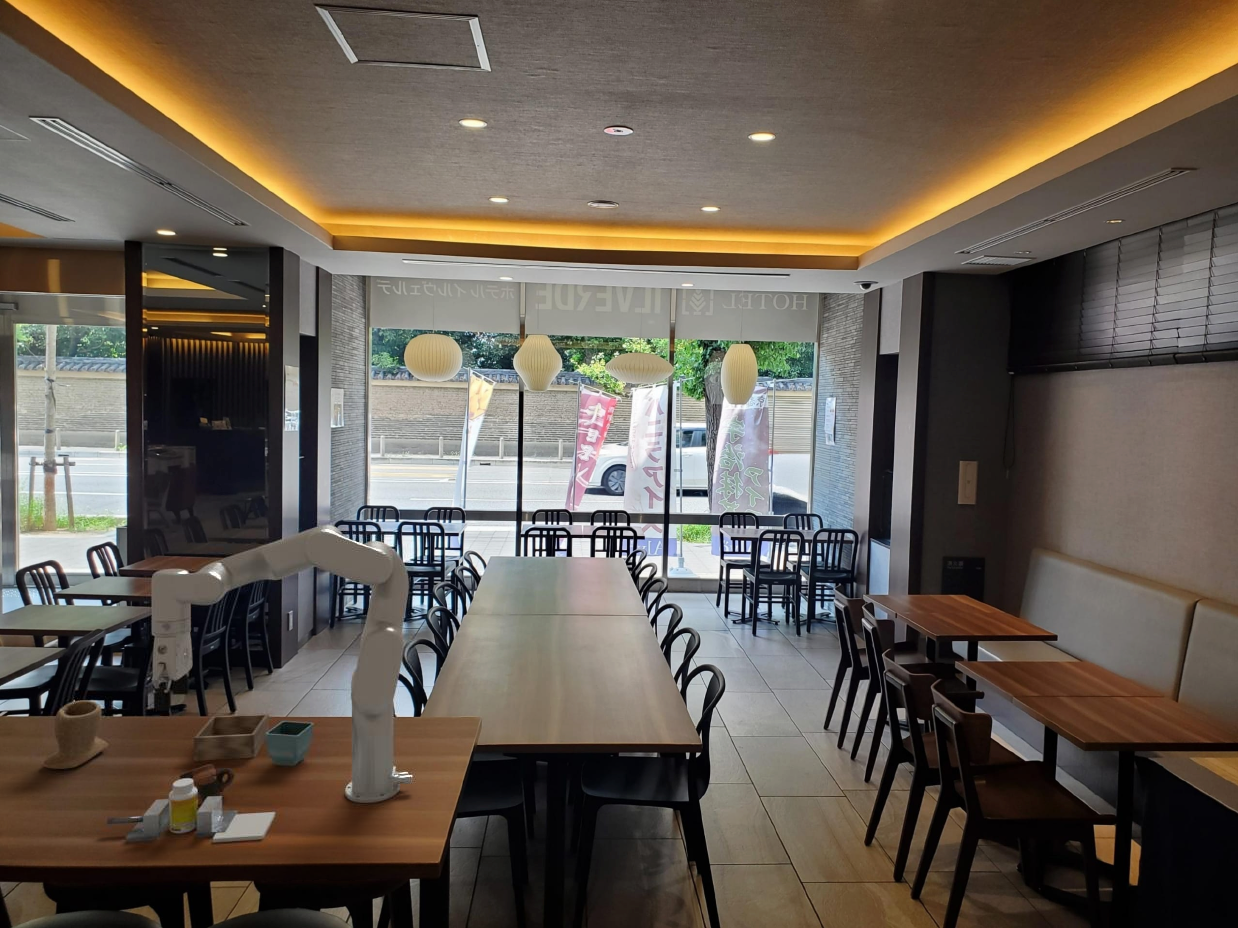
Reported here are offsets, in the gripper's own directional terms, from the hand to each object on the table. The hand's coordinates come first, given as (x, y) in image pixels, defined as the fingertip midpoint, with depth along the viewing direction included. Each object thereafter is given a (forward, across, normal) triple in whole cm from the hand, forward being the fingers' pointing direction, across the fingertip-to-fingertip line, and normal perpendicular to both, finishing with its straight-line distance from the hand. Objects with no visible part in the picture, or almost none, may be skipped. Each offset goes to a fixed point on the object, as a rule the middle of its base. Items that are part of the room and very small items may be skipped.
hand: (171, 701), depth 178 cm
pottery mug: (+26, +8, -4) cm, 28 cm away
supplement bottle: (+26, -6, -5) cm, 27 cm away
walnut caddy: (+26, +36, -2) cm, 44 cm away
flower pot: (+26, +25, -19) cm, 41 cm away
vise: (+26, -6, -2) cm, 27 cm away
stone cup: (+27, +32, +34) cm, 54 cm away
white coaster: (+26, -8, -18) cm, 32 cm away
